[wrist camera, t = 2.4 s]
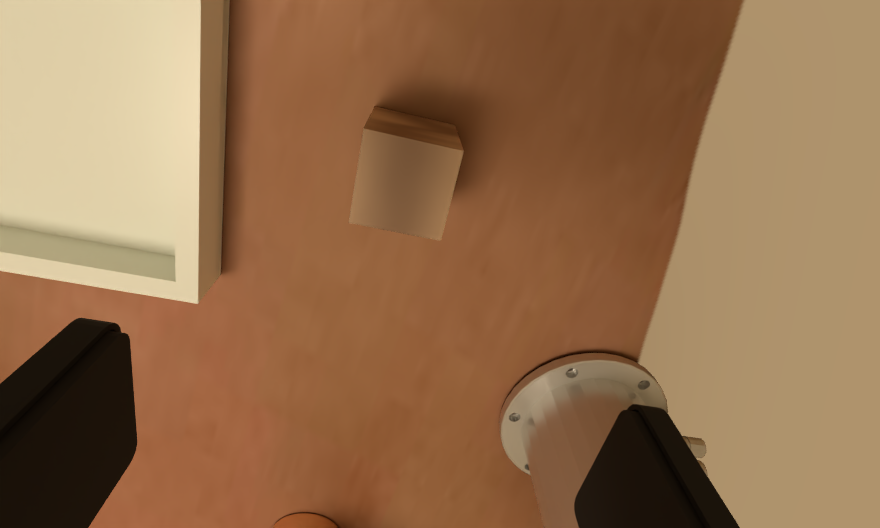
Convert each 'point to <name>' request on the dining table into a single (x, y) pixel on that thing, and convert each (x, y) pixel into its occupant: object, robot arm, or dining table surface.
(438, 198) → the block
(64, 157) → the tray
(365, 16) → the dining table surface
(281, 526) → the beer glass
